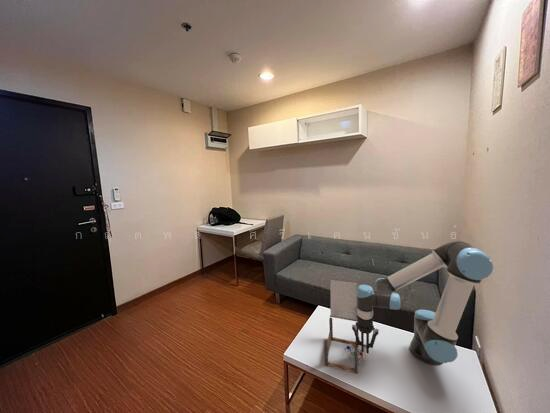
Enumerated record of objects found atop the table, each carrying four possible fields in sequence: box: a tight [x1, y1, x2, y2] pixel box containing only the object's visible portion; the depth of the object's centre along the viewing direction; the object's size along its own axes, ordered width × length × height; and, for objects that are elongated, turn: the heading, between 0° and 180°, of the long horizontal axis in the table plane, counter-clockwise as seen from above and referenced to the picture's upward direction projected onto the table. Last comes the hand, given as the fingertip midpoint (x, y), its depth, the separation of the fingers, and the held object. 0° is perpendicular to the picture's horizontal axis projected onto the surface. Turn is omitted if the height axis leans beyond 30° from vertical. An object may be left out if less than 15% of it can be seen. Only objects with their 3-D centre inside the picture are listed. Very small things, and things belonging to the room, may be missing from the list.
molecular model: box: [343, 340, 364, 366], centre depth 117 cm, size 12×10×10 cm
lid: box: [329, 279, 358, 323], centre depth 130 cm, size 16×22×1 cm
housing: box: [323, 317, 360, 375], centre depth 120 cm, size 16×20×14 cm
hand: (365, 357), depth 116 cm, fingers closed
